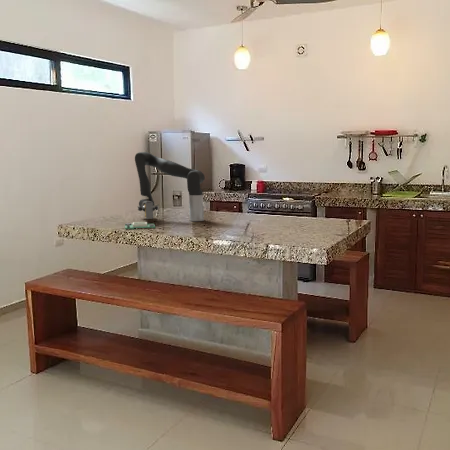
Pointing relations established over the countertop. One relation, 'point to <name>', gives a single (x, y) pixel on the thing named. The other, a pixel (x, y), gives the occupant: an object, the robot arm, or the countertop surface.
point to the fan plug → (148, 210)
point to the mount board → (139, 225)
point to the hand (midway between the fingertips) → (148, 209)
